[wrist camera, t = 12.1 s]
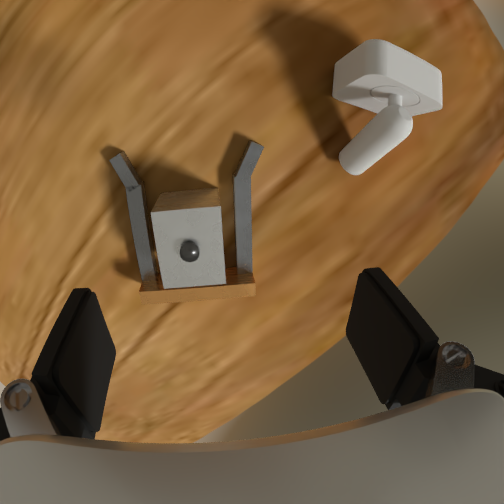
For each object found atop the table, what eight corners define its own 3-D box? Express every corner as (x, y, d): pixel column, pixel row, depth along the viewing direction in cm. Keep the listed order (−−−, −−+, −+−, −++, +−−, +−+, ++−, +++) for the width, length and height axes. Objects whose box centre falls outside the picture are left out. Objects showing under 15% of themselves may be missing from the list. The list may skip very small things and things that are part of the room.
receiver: (113, 152, 25) (101, 158, 22) (261, 139, 27) (268, 143, 24) (136, 286, 32) (130, 304, 29) (261, 276, 33) (267, 294, 30)
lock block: (161, 192, 28) (149, 214, 22) (218, 187, 28) (221, 208, 23) (170, 257, 31) (163, 292, 25) (222, 253, 32) (226, 287, 26)
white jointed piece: (311, 166, 28) (365, 160, 18) (322, 72, 26) (373, 34, 16) (379, 182, 30) (444, 186, 20) (386, 95, 28) (447, 74, 18)
